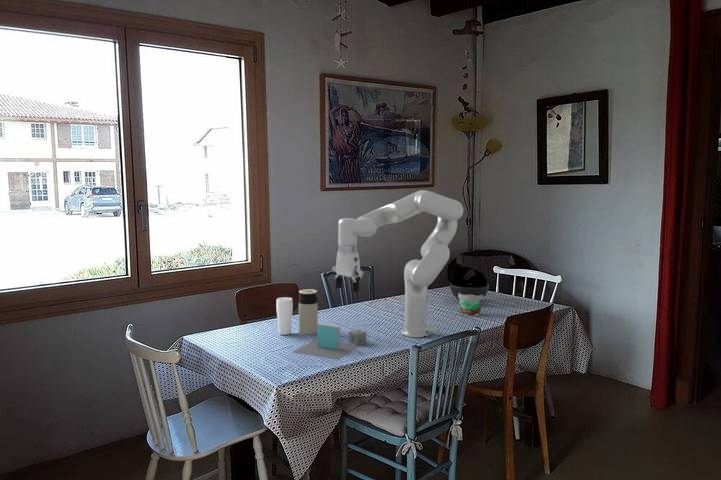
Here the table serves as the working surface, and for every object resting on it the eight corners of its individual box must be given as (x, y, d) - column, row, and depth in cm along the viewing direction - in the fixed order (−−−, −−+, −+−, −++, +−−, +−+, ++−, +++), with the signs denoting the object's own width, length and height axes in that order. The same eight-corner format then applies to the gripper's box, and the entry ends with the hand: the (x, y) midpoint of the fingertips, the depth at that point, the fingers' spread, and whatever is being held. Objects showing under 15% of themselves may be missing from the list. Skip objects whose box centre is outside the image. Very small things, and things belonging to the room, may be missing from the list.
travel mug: (310, 336, 246) (310, 293, 243) (295, 333, 250) (294, 291, 248) (321, 331, 252) (321, 290, 250) (306, 328, 257) (306, 288, 254)
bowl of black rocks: (449, 298, 318) (450, 263, 315) (486, 299, 315) (488, 264, 312) (449, 306, 298) (450, 270, 296) (489, 308, 295) (491, 271, 293)
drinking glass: (279, 336, 244) (279, 301, 242) (274, 332, 250) (274, 298, 248) (295, 334, 248) (294, 299, 246) (289, 330, 253) (289, 296, 252)
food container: (454, 315, 282) (455, 294, 280) (457, 312, 287) (458, 292, 286) (480, 317, 277) (481, 297, 276) (483, 314, 283) (483, 294, 282)
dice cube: (356, 346, 232) (356, 334, 232) (348, 343, 236) (348, 331, 236) (366, 344, 235) (366, 332, 235) (358, 341, 239) (359, 329, 239)
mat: (359, 346, 232) (359, 345, 232) (339, 360, 215) (339, 359, 215) (314, 340, 240) (314, 339, 240) (291, 353, 223) (291, 352, 223)
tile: (340, 348, 228) (340, 325, 227) (337, 349, 226) (337, 327, 225) (319, 345, 232) (319, 323, 231) (317, 346, 230) (317, 324, 229)
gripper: (369, 249, 237) (368, 291, 239) (339, 245, 248) (339, 285, 251) (356, 251, 231) (355, 294, 233) (326, 247, 243) (326, 287, 245)
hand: (347, 289), depth 242 cm, fingers open, 9 cm apart
